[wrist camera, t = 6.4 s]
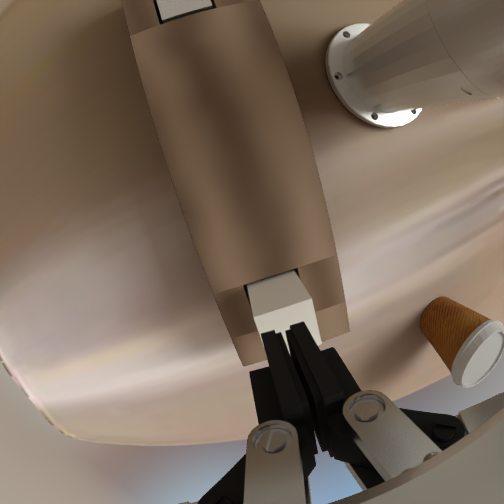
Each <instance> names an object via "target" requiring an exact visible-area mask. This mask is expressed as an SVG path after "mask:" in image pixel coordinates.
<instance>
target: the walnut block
mask: <svg viewBox="0 0 504 504" xmlns="http://www.w3.org/2000/svg"><path fill="white" fill-rule="evenodd" d="M211 3H212V6H213V9H211V10H207V11H203V12H199V13H195V14H192V15H188V16H185V17H182V18H179V19H175V20H172V21H169V22H166V23H163V21H162V18H161V14H160V11H159V7H158V4H157V0H122V4H123V9H124V13H125V17H126V22H127V26H128V30H129V35H130V39H131V43H132V47H133V51H134V55H135V58H136V62H137V66H138V70H139V74H140V77H141V81H142V85H143V88H144V92H145V95H146V99H147V102H148V106H149V109H150V113H151V116H152V119H153V123H154V126H155V129H156V133H157V136H158V139H159V142H160V146H161V149H162V152H163V155H164V158H165V161H166V164H167V167H168V170H169V173H170V177H171V180H172V183H173V185H174V188H175V191H176V194H177V197H178V200H179V203H180V206H181V209H182V212H183V215H184V217H185V220H186V223H187V226H188V229H189V231H190V234H191V237H192V240H193V242H194V245H195V248H196V250H197V253H198V256H199V258H200V261H201V264H202V266H203V269H204V272H205V274H206V277H207V279H208V282H209V285H210V287H211V290H212V292H213V295H214V297H215V300H216V302H217V305H218V307H219V310H220V312H221V315H222V317H223V320H224V322H225V324H226V327H227V329H228V332H229V334H230V337H231V339H232V341H233V344H234V346H235V348H236V351H237V353H238V355H239V358H240V360H241V362H242V365H243V366H247V365H251V364H254V363H258V362H261V361H265V360H268V359H267V356H266V352H265V349H264V346H263V343H262V340H261V337H260V335H259V332H258V329H257V326H256V323H255V321H254V318H253V313H252V308H251V303H250V298H249V293H248V288H247V284H248V283H251V282H255V281H258V280H261V279H264V278H267V277H270V276H273V275H277V274H280V273H283V272H286V271H289V270H290V271H292V270H294V271H295V272H296V274H297V276H298V277H299V279H300V280H301V282H302V284H303V285H304V287H305V288H306V290H307V291H308V293H309V295H310V296H311V298H312V301H313V306H314V310H315V315H316V319H317V324H318V328H319V333H320V337H321V342H323V341H325V340H328V339H331V338H334V337H336V336H339V335H342V334H344V333H347V332H349V331H350V328H349V321H348V315H347V308H346V302H345V296H344V290H343V284H342V279H341V273H340V268H339V262H338V257H337V252H336V247H335V242H334V238H333V233H332V228H331V224H330V219H329V215H328V210H327V206H326V202H325V198H324V194H323V190H322V186H321V182H320V178H319V174H318V170H317V166H316V162H315V159H314V155H313V151H312V148H311V144H310V141H309V137H308V134H307V131H306V127H305V124H304V121H303V117H302V114H301V111H300V108H299V104H298V101H297V98H296V95H295V92H294V89H293V86H292V83H291V80H290V77H289V74H288V72H287V69H286V66H285V63H284V60H283V58H282V55H281V52H280V50H279V47H278V44H277V42H276V39H275V36H274V34H273V31H272V29H271V26H270V24H269V21H268V19H267V16H266V14H265V12H264V9H263V7H262V5H261V2H260V0H211Z"/></svg>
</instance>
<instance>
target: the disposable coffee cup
mask: <svg viewBox="0 0 504 504" xmlns="http://www.w3.org/2000/svg"><path fill="white" fill-rule="evenodd" d="M420 328H421V330H422V332H423V333H424V335H425V336H426V337H427V339H428V340H429V342H430V343H431V344H432V346H433V347H434V349H435V350H436V352H437V353H438V354H439V356H440V357H441V359H442V360H443V362H444V363H445V364H446V366H447V368H448V369H449V370H450V372H451V375H452V378H453V381H454V383H455V384H457V385H461V386H463V387H465V388H469V387H472V386H474V385H476V384H478V383H479V382H480V381H482V380H483V379H484V378H485V377H486V376H487V375H488V374H489V373H490V372H491V371H492V370H493V368H494V367H495V366H496V364H497V363H498V361H499V359H500V358H501V356H502V354H503V352H504V327H503V324H502V322H501V321H498V320H491V319H489V318H487V317H485V316H483V315H481V314H479V313H477V312H475V311H473V310H471V309H469V308H467V307H465V306H463V305H461V304H459V303H457V302H455V301H453V300H451V299H449V298H447V297H439V298H437V299H435V300H434V301H432V302H431V303H430V304H429V306H428V307H427V308H426V310H425V311H424V313H423V315H422V318H421V323H420Z"/></svg>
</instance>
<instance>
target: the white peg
mask: <svg viewBox="0 0 504 504" xmlns="http://www.w3.org/2000/svg"><path fill="white" fill-rule="evenodd" d="M247 288H248V293H249V298H250V303H251V308H252V313H253V318H254V321H255V323H256V326H257V329H258V332H259V335H260V337H261V333H265V332H268V331H272V330H275V333H279V332H281V333H282V336H283V338H284V341H285V343H286V346H287V348H288V351H289V346H288V342H287V337H286V333H285V331H286V330H289V329H290V325H293V324H296V323H300V322H303V321H304V322H305V324H306V326H307V328H308V330H309V331H310V333H311V335H312V337H313V338H314V340H315V342H316V344H317V346H318V345H321V344H322V342H321V337H320V333H319V328H318V324H317V319H316V315H315V310H314V306H313V301H312V298H311V296H310V295H309V293H308V291H307V290H306V288H305V287H304V285H303V284H302V282H301V280H300V279H299V277H298V276H297V274H296V272H295V271H294V270H292V271H289V272H285V273H282V274H279V275H276V276H273V277H270V278H267V279H264V280H260V281H257V282H254V283H251V284H248V285H247ZM261 340H262V338H261ZM262 343H263V341H262ZM263 346H264V345H263ZM289 353H290V351H289Z"/></svg>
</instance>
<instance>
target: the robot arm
mask: <svg viewBox="0 0 504 504" xmlns="http://www.w3.org/2000/svg"><path fill="white" fill-rule="evenodd" d="M325 65H326V72H327V76H328V79H329V82H330V84H331V87H332V89H333V91H334V93H335V94H336V96H337V97H338V98H339V100H340V101H341V103H342V104H343V105H344V106H345V107H346V108H347V109H348V110H349V111H350V112H351V113H353V114H354V115H355V116H356V117H358V118H359V119H361V120H363V121H365V122H366V123H369V124H371V125H374V126H377V127H383V128H393V127H400V126H404V125H406V124H408V123H410V122H411V121H413V120H414V119H415V118H416V117H417V116H418V115H419V113H420V112H421V110H422V108H426V107H432V106H438V105H445V104H452V103H460V102H468V101H477V100H488V99H499V98H504V0H403V1H402V2H400V3H399V4H398V5H396V6H395V7H393V8H392V9H391V10H389V11H388V12H387V13H385V14H384V15H383V16H381V17H380V18H379V19H377V20H376V21H375V22H374V23H372V24H368V23H358V24H352V25H349V26H346V27H345V28H343V29H342V30H340V31H339V32H338V33H337V34H336V35H335V36H334V37H333V38H332V40H331V41H330V43H329V45H328V48H327V51H326V58H325ZM335 77H337V79H336V78H335ZM371 116H372V117H371ZM285 333H286V337H287V342H288V346H289V351H290V353H289V351H288V348H287V346H286V343H285V341H284V338H283V336H282V333H281V332H279V333H275V330H272V331H268V332H265V333H261V338H262V341H263V345H264V349H265V352H266V356H267V359H268V363H269V367H265V368H262V369H258V370H254V371H250V372H249V373H250V379H251V385H252V390H253V396H254V401H255V406H256V412H257V417H258V422H259V425H258V426H256V427H255V428H254V429H253V430H252V431H251V432H250V434H249V435H248V439H247V450H246V454H245V455H244V456H243V457H242V458H241V459H240V460H239V461H238V462H237V464H236V465H235V466H234V467H233V468H232V469H231V470H230V471H229V472H228V473H227V474H226V475H225V476H224V477H223V478H222V479H221V480H220V481H218V482H217V484H215V485H214V486H213V487H212V488H211V489H210V490H209V491H208V492H207V493H206V494H205V495H204V496H203V497H202V498H201V499H200V500H199V501H198V502H194V503H189V502H185V503H180V504H311V495H310V486H309V478H308V476H309V475H310V473H311V472H312V470H313V469H314V467H315V466H316V462H315V456H314V455H315V454H317V453H318V451H317V445H316V439H315V434H316V437H317V439H318V442H319V445H320V447H321V450H322V451H323V452H324V451H327V450H328V452H329V455H330V457H333V456H334V458H335V459H336V460H340V461H343V462H345V464H346V467H347V468H348V470H349V471H350V473H351V474H352V475H353V477H354V478H355V480H356V481H357V483H358V484H359V486H360V487H361V488H362V490H363V491H362V492H360V493H357V494H355V495H352V496H349V497H346V498H344V499H341V500H338V501H335V502H332V503H329V504H504V392H503V393H500V394H498V395H496V396H494V397H492V398H490V399H487V400H485V401H483V402H481V403H479V404H476V405H474V406H472V407H469V408H467V409H465V410H462V411H460V412H459V413H458V415H456V416H451V415H447V414H437V413H430V412H422V411H415V410H407V409H402V408H398V407H397V406H396V405H395V404H394V403H393V402H392V401H391V400H390V399H389V398H388V397H387V396H386V395H384V394H383V393H381V392H378V391H374V390H366V391H361V389H360V388H359V386H358V385H357V383H356V381H355V380H354V378H353V377H352V375H351V373H350V372H349V370H348V369H347V367H346V365H345V364H344V362H343V361H342V359H341V358H340V356H339V354H338V353H337V351H336V350H335V349H334V348H333V347H332V348H329V349H326V350H323V351H320V349H319V347H318V346H317V344H316V342H315V340H314V338H313V337H312V335H311V333H310V331H309V330H308V328H307V326H306V324H305V322H304V321H303V322H300V323H296V324H293V325H290V329H289V330H286V331H285ZM290 355H291V356H290ZM314 431H315V433H314Z"/></svg>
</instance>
